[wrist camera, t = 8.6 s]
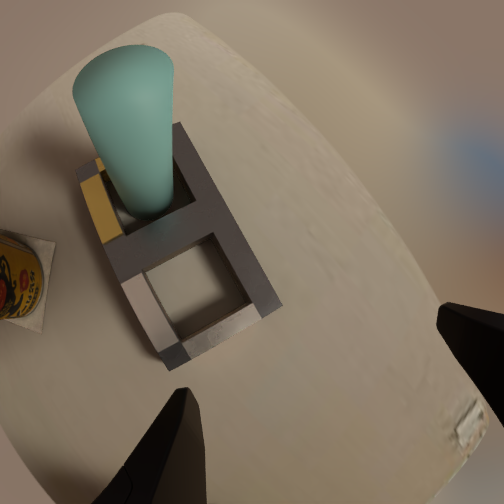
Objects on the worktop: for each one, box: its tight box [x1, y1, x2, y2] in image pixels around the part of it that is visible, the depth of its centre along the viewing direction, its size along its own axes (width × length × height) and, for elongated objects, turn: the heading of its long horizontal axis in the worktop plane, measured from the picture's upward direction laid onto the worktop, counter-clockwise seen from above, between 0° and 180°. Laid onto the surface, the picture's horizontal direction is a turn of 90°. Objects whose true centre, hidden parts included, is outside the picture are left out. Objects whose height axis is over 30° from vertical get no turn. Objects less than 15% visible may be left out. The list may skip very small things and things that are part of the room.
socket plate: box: [75, 122, 283, 371], centre depth 19 cm, size 9×16×2 cm, turn 29°
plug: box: [73, 45, 174, 221], centre depth 14 cm, size 4×4×13 cm
